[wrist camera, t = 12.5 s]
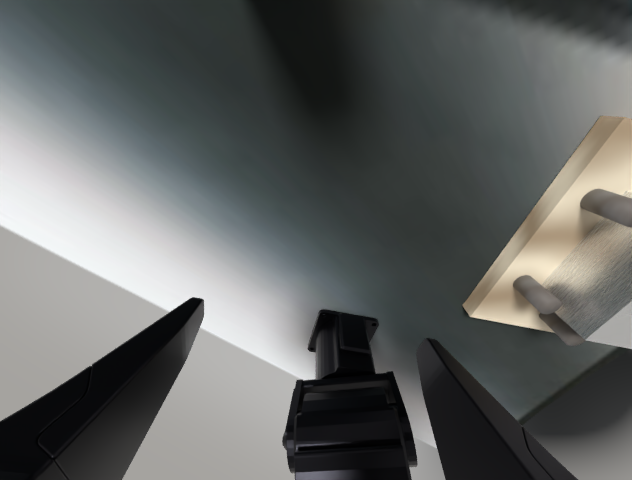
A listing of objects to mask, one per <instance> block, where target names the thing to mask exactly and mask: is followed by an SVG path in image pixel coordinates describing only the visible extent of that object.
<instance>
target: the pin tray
mask: <svg viewBox="0 0 632 480" xmlns="http://www.w3.org/2000/svg"><path fill="white" fill-rule="evenodd" d="M626 191H628V192H632V119H629V118H626V117H611V116H600V118H599V119H598V120H597V122H596V123H595V124H594V126H593V127H592V129H591V130H590V131H589V133H588V134H587V135H586V137H585V138H584V140H583V141H582V142H581V144H580V145H579V146H578V148H577V149H576V151H575V152H574V153H573V155H572V156H571V157H570V159H569V160H568V161H567V163H566V164H565V166H564V167H563V168H562V170H561V171H560V172H559V174H558V175H557V177H556V178H555V179H554V181H553V182H552V183H551V185H550V186H549V188H548V189H547V190H546V192H545V193H544V194H543V196H542V197H541V199H540V200H539V201H538V203H537V204H536V205H535V207H534V208H533V210H532V211H531V212H530V214H529V215H528V216H527V218H526V219H525V221H524V222H523V223H522V225H521V226H520V227H519V229H518V230H517V232H516V233H515V234H514V236H513V237H512V238H511V240H510V241H509V243H508V244H507V245H506V247H505V248H504V249H503V251H502V252H501V253H500V255H499V256H498V258H497V259H496V260H495V262H494V263H493V264H492V266H491V267H490V269H489V270H488V271H487V273H486V274H485V275H484V277H483V278H482V280H481V281H480V282H479V284H478V285H477V286H476V288H475V289H474V291H473V292H472V293H471V295H470V296H469V297H468V299H467V300H466V302H465V303H464V304H463V307H464V309H465V310H466V311H467V313H468V314H469V316H470V317H474V318H479V319H484V320H490V321H495V322H500V323H506V324H511V325H516V326H522V327H527V328H532V329H538V330H543V331H548V332H554V333H556V334H557V335H558V336H559V337H560V338H561V339H562V340H563V341H564V342H565V343H566V344H567V345H569V346H576V345H579V344H582V343H583V342H585V341H586V340H584V339H583V338H582V337H581V336H580V335H579V334H578V333H577V332H576V331H574V330H573V329H572V328H571V327H570V326H569V325H568V324H567V323H566V322H565V321H563V320H562V319H561V318H560V317H559V316H558V315H557V314H556V313H555V312H556V311H557V310H559V309H560V307H561V306H562V302H561V301H560V300H559V299H557V298H556V297H555V296H554V295H553V294H551V293H550V292H549V291H548V290H547V289H545V288H544V287H543V286H542V284H543V282H544V281H545V280H546V279H547V278H548V277H549V276H550V275H551V274H552V272H553V271H554V270H555V269H556V268H557V267H558V266H559V265H560V264H561V262H562V261H563V260H564V259H565V258H566V257H567V256H568V255H569V254H570V252H571V251H572V250H573V249H574V248H575V247H576V246H577V245H578V244H579V243H580V241H581V240H582V239H583V238H584V237H585V236H586V235H587V234H588V233H589V231H590V230H591V229H592V228H593V227H594V226H595V225H596V224H597V223H598V221H599V220H600V219H601V218H602V217H604V218H607V219H609V220H611V221H614V222H616V223H619V224H621V225H624V226H626V227H629V228H632V198H628V197H625V196H622V195H623V194H624V193H625V192H626Z"/></svg>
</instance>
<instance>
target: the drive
mask: <svg viewBox="0 0 632 480" xmlns="http://www.w3.org/2000/svg"><path fill="white" fill-rule="evenodd" d="M622 196H625V197H628V198H632V192H628V191H626V192H625V193H624V194H623V195H622ZM542 286H543V287H544V288H545V289H547V290H548V291H549V292H550V293H551V294H553V295H554V296H555V297H556V298H557V299H559V300H560V301H561V302H562V306H561V307H560V309H559V310H557V311H556V312H555V313H556V314H557V315H558V316H559V317H560V318H561V319H562V320H563V321H565V322H566V323H567V324H568V325H569V326H570V327H571V328H572V329H573V330H574V331H576V332H577V333H578V334H579V335H580V336H581V337H582V338H583V339H584V340H588V341H593V342H598V343H603V344H609V345H614V346H619V347H624V348H630V349H632V228H629V227H626V226H624V225H621V224H619V223H616V222H614V221H611V220H609V219H607V218H604V217H602V218H601V219H600V220H599V221H598V223H597V224H596V225H595V226H594V227H593V228H592V229H591V230H590V231H589V233H588V234H587V235H586V236H585V237H584V238H583V239H582V240H581V241H580V243H579V244H578V245H577V246H576V247H575V248H574V249H573V250H572V251H571V252H570V254H569V255H568V256H567V257H566V258H565V259H564V260H563V261H562V262H561V264H560V265H559V266H558V267H557V268H556V269H555V270H554V271H553V272H552V274H551V275H550V276H549V277H548V278H547V279H546V280H545V281H544V282H543V284H542Z"/></svg>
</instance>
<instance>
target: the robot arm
mask: <svg viewBox="0 0 632 480" xmlns="http://www.w3.org/2000/svg"><path fill="white" fill-rule="evenodd" d="M323 314H325V315H323ZM203 317H204V300H203V299H200V298H195V297H193V298H190V299H189V300H187V301H186V302H184V303H183V304H181V305H180V306H178V307H177V308H175V309H174V310H172V311H171V312H169V313H168V314H166V315H165V316H164V317H162V318H160V319H159V320H157V321H156V322H154V323H153V324H152V325H150V326H149V327H147V328H146V329H144V330H143V331H141V332H140V333H138V334H137V335H135V336H134V337H132V338H131V339H129V340H128V341H126V342H125V343H124V344H122V345H120V346H119V347H117V348H116V349H114V350H113V351H111V352H110V353H108V354H107V355H105V356H104V357H102V358H101V359H99V360H98V361H97V362H95V363H94V364H92V366H89V367H87V368H86V369H84V370H83V371H81V372H80V373H78V374H77V375H75V376H74V377H72V378H71V379H69V380H68V381H66V382H65V383H63V384H61V385H60V386H58V387H57V388H55V389H54V390H52V391H51V392H49V393H47V394H46V395H44V396H42V397H41V398H39V399H37V400H36V401H34V402H32V403H31V404H29V405H28V406H26V407H24V408H22V409H21V410H19V411H17V412H16V413H14V414H12V415H10V416H9V417H7V418H5V419H4V420H2V421H0V480H122V478H123V477H124V475H125V473H126V471H127V469H128V467H129V465H130V464H131V462H132V460H133V458H134V456H135V454H136V452H137V451H138V448H139V447H140V445H141V443H142V441H143V439H144V438H145V436H146V434H147V432H148V430H149V428H150V426H151V425H152V423H153V421H154V419H155V417H156V415H157V413H158V411H159V410H160V408H161V406H162V404H163V402H164V400H165V399H166V397H167V395H168V393H169V391H170V389H171V387H172V385H173V384H174V382H175V380H176V378H177V376H178V374H179V373H180V371H181V369H182V367H183V365H184V363H185V361H186V359H187V357H188V354H189V352H190V350H191V347H192V345H193V342H194V340H195V337H196V335H197V333H198V330H199V328H200V325H201V323H202V320H203ZM378 325H379V324H378V320H377V319H375V318H369V317H363V316H358V315H352V314H347V313H341V312H336V311H330V310H320V311H319V314H318V317H317V320H316V323H315V326H314V329H313V332H312V335H311V338H310V341H309V344H308V350H309V351H311V352H316V379H315V380H304V381H303V379H302V380H297V382H296V387H295V389H294V391H293V396H292V401H291V405H290V410H289V415H288V420H287V425H286V430H285V433H284V436H283V441H282V442H283V446H284V448H285V449H286V450H287V459H288V465H289V469H290V472H291V473H295V480H412V479H411V474H410V469H409V467H416V466H417V455H416V449H415V444H414V439H413V434H412V430H411V426H410V422H409V419H408V415H407V412H406V409H405V406H404V403H403V400H402V397H401V394H400V391H399V388H398V385H397V383H396V380H395V377H394V374H393V371H390V372H387V373H381V374H376V373H375V368H374V363H373V358H372V353H371V348H370V343H369V342H370V341H371V339H372V337H373V335H374V333H375V331H376V329H377V327H378ZM416 356H417V362H418V368H419V374H420V380H421V386H422V391H423V396H424V400H425V404H426V408H427V411H428V415H429V419H430V423H431V426H432V430H433V434H434V438H435V441H436V445H437V449H438V452H439V456H440V460H441V463H442V468H443V471H444V475H445V479H446V480H578V479H577V478H576V477H574V476H573V475H572V474H571V473H570V472H569V471H568V470H567V469H566V468H565V467H564V466H562V464H561V463H559V462H558V461H557V460H556V459H555V458H554V457H553V456H552V455H551V454H550V453H549V452H548V451H547V450H546V449H545V448H544V447H543V446H542V445H541V444H540V443H539V442H538V441H537V440H536V439H535V438H534V437H533V436H532V435H531V434H530V433H529V432H528V431H527V430H526V429H525V428H524V427H522V426H521V424H520V423H519V422H518V421H517V420H516V419H515V418H514V417H513V416H512V415H511V414H510V413H509V412H508V411H507V410H506V409H505V408H504V407H503V406H502V405H501V404H500V403H499V402H498V401H497V400H496V399H495V398H494V397H493V396H492V395H491V394H490V393H489V392H488V391H487V390H486V389H485V388H484V387H483V386H482V385H481V384H480V383H479V382H478V381H477V380H476V379H475V378H474V377H473V376H472V375H471V374H470V373H469V372H468V371H467V370H466V369H465V368H464V367H463V366H462V365H461V364H460V363H459V362H458V361H457V360H456V359H455V358H454V357H453V356H452V355H451V354H450V353H449V352H448V351H447V350H446V349H445V348H444V347H443V346H442V345H441V344H440V343H439V342H438V341H437V340H435V339H430V338H426V339H424V341H423V342H422V344H421V345H420V346H419V348H418V350H417V353H416Z"/></svg>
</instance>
